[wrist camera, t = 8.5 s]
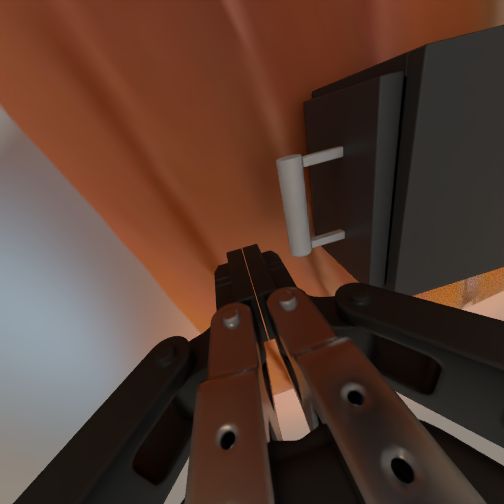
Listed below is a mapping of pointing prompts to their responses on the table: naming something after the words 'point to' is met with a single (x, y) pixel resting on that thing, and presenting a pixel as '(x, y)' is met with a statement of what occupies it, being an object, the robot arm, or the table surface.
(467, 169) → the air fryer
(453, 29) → the table surface
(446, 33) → the table surface
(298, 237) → the black drawer
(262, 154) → the table surface
